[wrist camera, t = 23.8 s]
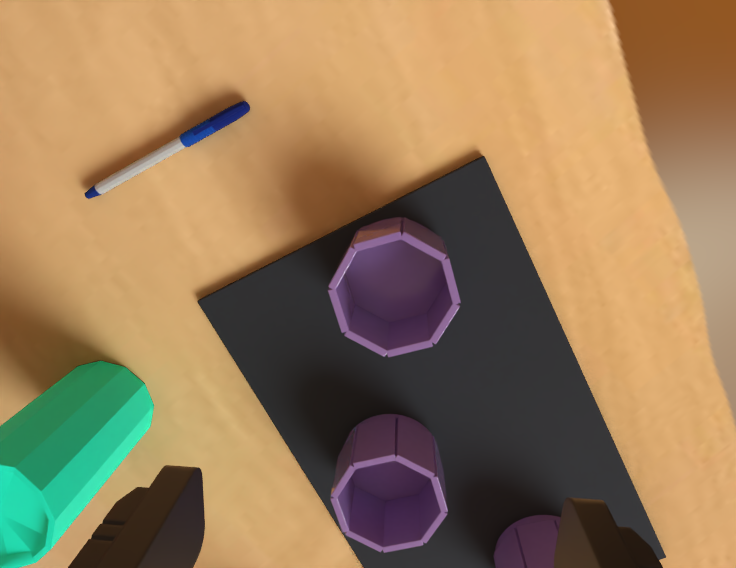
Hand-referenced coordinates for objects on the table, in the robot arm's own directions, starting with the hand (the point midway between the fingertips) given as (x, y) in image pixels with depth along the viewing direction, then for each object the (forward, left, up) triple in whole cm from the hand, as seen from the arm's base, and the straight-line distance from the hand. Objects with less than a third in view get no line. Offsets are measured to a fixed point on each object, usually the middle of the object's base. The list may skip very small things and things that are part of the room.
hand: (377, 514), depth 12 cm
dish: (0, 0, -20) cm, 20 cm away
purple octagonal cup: (+6, -10, -20) cm, 23 cm away
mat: (+8, -8, -20) cm, 23 cm away
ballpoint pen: (-14, 0, -20) cm, 25 cm away
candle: (-11, -16, -20) cm, 29 cm away
